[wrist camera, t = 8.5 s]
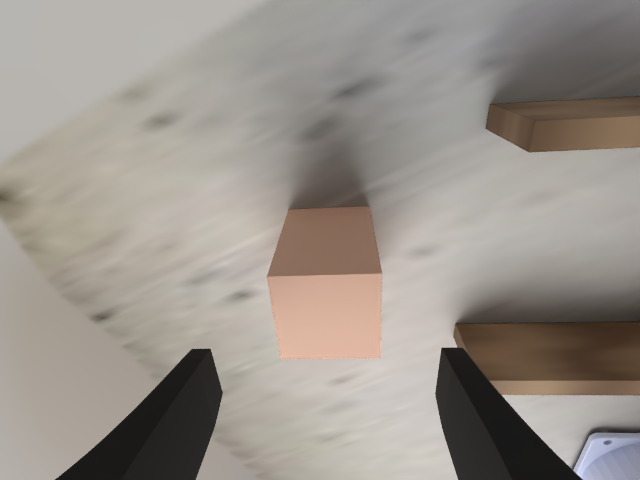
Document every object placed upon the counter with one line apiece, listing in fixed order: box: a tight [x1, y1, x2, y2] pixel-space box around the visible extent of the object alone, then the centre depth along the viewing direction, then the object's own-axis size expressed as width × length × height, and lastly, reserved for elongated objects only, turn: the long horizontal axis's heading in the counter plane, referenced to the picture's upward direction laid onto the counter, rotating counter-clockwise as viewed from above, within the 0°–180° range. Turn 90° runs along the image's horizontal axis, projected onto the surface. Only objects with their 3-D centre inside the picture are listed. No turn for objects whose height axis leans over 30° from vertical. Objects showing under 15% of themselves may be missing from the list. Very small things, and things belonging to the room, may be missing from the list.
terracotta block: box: [267, 206, 382, 359], centre depth 16 cm, size 4×4×6 cm
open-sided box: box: [454, 96, 640, 395], centre depth 16 cm, size 12×13×4 cm
